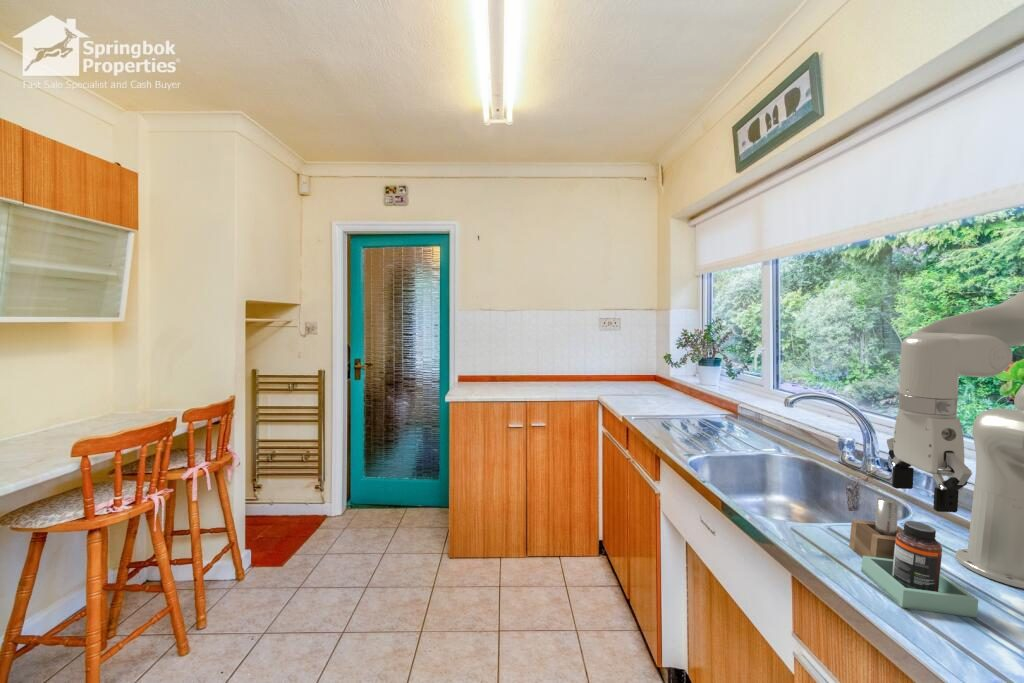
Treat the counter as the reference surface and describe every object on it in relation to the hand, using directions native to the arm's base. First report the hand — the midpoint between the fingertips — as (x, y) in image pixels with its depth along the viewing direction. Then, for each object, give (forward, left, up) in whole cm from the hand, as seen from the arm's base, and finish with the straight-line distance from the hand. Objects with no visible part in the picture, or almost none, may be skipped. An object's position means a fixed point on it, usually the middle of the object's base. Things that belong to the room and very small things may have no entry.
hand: (922, 498), depth 78 cm
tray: (+2, +4, -16) cm, 16 cm away
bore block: (0, -7, -16) cm, 17 cm away
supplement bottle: (+2, +3, -15) cm, 16 cm away
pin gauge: (+1, -7, -16) cm, 17 cm away
